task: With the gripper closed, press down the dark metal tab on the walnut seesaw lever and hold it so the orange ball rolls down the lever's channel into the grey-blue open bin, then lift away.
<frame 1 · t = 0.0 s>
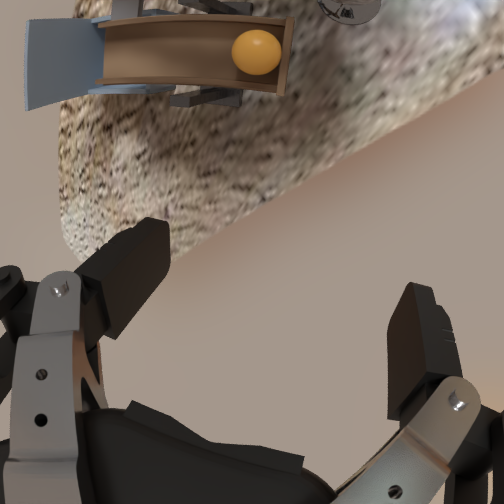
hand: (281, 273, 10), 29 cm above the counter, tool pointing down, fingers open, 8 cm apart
lever: (190, 11, 22), point 10 cm above the counter, hinge at -8.0°, touching ball
grey-blue open bin: (144, 52, 34), on the counter
ball: (256, 52, 22), point 11 cm above the counter, tilted 12°, touching lever
lever stand: (226, 52, 33), on the counter
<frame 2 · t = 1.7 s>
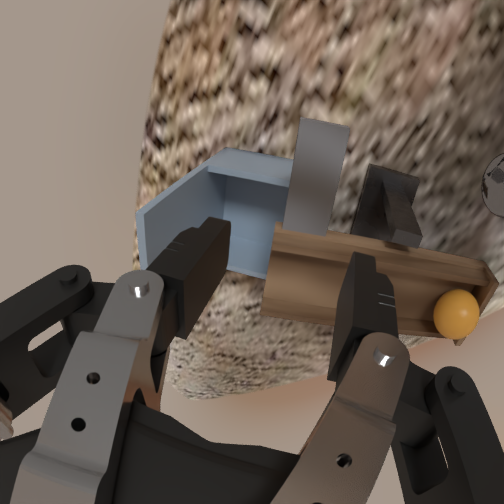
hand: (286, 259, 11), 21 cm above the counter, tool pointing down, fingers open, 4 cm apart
lever: (401, 251, 21), point 10 cm above the counter, hinge at -8.0°, touching ball
grey-blue open bin: (268, 202, 33), on the counter
ball: (456, 314, 21), point 11 cm above the counter, tilted 12°, touching lever
lever stand: (376, 229, 32), on the counter
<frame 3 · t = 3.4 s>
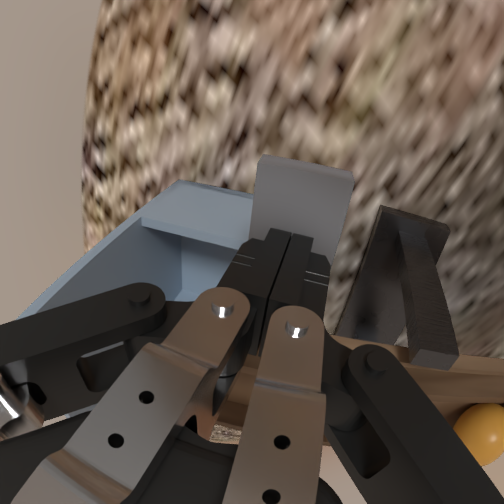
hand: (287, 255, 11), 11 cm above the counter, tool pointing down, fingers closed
lever: (421, 369, 12), point 10 cm above the counter, hinge at -4.1°, touching ball, gripper
grey-blue open bin: (239, 253, 25), on the counter
ball: (481, 434, 12), point 12 cm above the counter, tilted 8°, touching lever
lever stand: (385, 290, 23), on the counter
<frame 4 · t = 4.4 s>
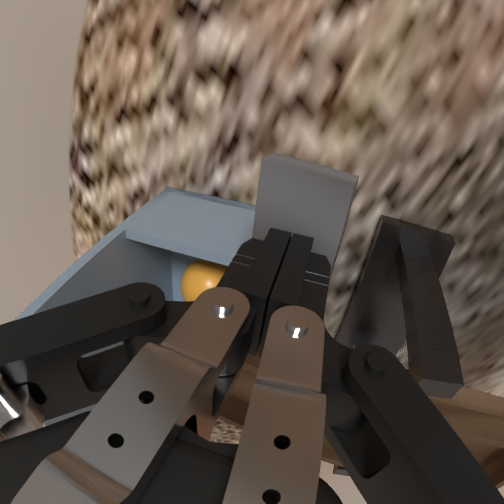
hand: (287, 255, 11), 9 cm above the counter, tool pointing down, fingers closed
lever: (420, 396, 11), point 10 cm above the counter, hinge at 8.9°, touching gripper
grey-blue open bin: (231, 265, 24), on the counter
ball: (210, 286, 22), point 3 cm above the counter, tilted 114°, touching grey-blue open bin
lever stand: (384, 303, 22), on the counter
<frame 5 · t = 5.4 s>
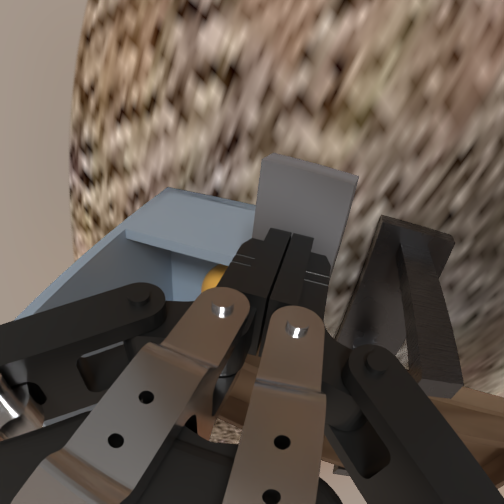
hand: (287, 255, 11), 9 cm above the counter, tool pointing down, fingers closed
lever: (420, 396, 11), point 10 cm above the counter, hinge at 8.9°, touching gripper
grey-blue open bin: (231, 265, 24), on the counter
ball: (231, 292, 21), point 3 cm above the counter, tilted 67°, touching grey-blue open bin
lever stand: (384, 303, 22), on the counter
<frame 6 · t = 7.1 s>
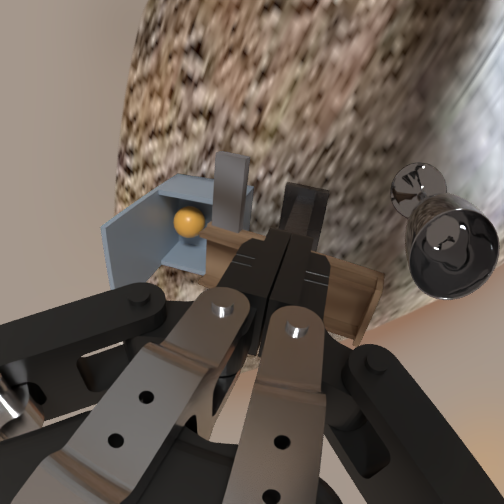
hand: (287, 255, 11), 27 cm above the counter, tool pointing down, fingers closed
lever: (290, 250, 30), point 10 cm above the counter, hinge at 8.9°
grey-blue open bin: (212, 216, 42), on the counter
ball: (189, 222, 40), point 3 cm above the counter, tilted 152°, touching grey-blue open bin
lever stand: (299, 234, 40), on the counter
wine glass: (419, 191, 34), on the counter
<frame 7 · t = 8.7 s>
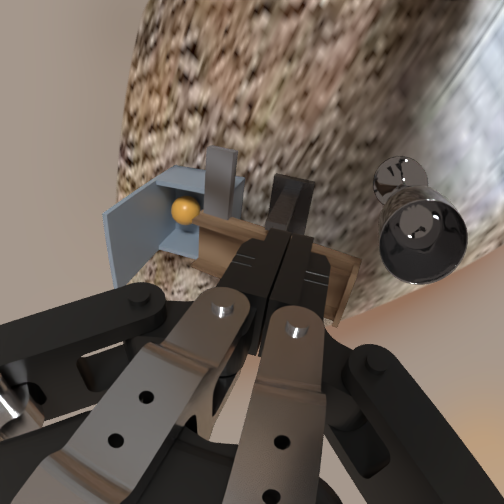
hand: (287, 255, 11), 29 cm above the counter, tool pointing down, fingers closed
lever: (273, 235, 32), point 10 cm above the counter, hinge at 8.9°
grey-blue open bin: (206, 204, 45), on the counter
ball: (185, 210, 43), point 3 cm above the counter, tilted 148°, touching grey-blue open bin
lever stand: (287, 223, 43), on the counter
wine glass: (400, 183, 36), on the counter
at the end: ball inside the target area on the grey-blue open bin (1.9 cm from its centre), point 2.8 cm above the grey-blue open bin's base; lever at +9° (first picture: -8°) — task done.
